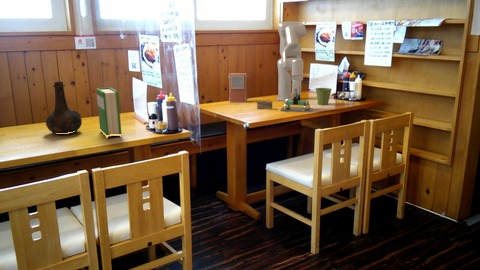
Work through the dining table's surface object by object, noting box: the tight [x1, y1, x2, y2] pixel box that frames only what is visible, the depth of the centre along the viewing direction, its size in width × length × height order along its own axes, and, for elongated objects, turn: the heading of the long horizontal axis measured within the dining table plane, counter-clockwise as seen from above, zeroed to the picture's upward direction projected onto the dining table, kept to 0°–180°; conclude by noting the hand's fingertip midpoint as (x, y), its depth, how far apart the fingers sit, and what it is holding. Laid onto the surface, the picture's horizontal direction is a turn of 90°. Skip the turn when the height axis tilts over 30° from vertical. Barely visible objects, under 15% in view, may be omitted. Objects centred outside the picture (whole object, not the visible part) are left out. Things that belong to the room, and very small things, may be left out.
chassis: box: [279, 99, 314, 113], centre depth 283 cm, size 12×20×7 cm, turn 73°
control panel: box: [227, 72, 249, 104], centre depth 316 cm, size 21×7×15 cm
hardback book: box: [95, 87, 122, 135], centre depth 221 cm, size 18×7×24 cm, turn 29°
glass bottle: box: [45, 80, 83, 134], centre depth 225 cm, size 18×18×28 cm
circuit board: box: [287, 100, 310, 106], centre depth 282 cm, size 7×16×2 cm, turn 73°
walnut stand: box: [256, 100, 273, 110], centre depth 289 cm, size 3×10×5 cm, turn 73°
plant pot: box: [315, 87, 333, 106], centre depth 302 cm, size 12×12×11 cm
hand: (296, 103), depth 282 cm, fingers open, 9 cm apart
